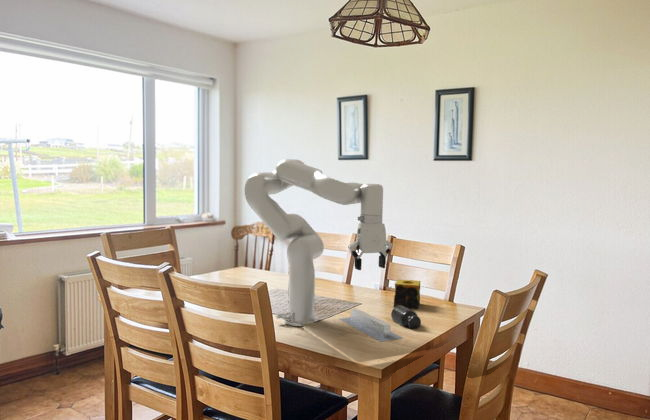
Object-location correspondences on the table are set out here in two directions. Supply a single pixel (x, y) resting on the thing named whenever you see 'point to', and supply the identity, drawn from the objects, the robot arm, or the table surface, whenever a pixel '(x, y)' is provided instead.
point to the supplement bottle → (405, 317)
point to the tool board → (371, 333)
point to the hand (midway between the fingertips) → (370, 268)
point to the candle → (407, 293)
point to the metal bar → (370, 322)
